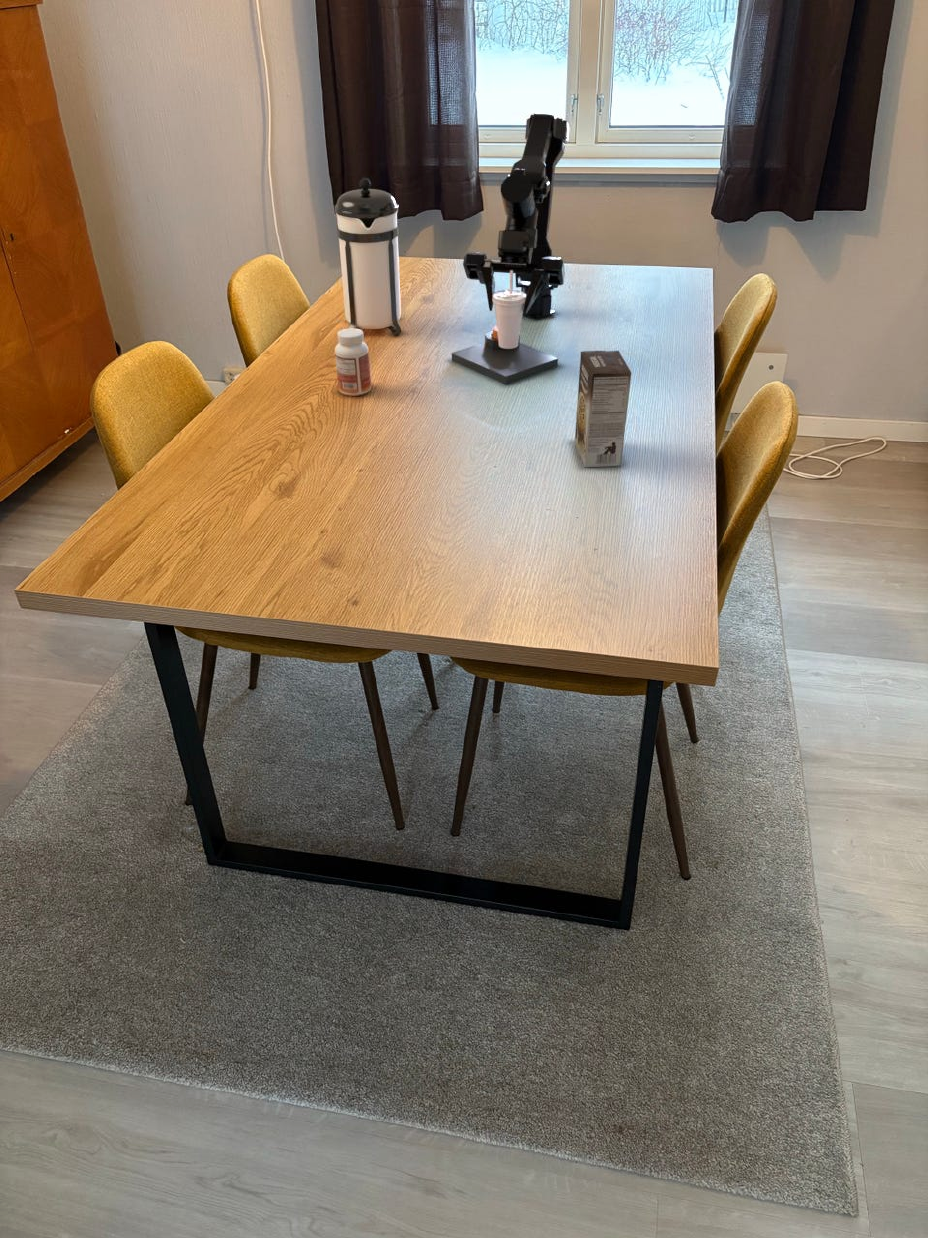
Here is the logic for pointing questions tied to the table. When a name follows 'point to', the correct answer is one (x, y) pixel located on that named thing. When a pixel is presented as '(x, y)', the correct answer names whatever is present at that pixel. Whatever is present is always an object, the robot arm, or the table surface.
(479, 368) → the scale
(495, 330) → the power button
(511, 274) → the smoothie
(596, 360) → the coffee box
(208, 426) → the table surface
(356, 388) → the pill bottle
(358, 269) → the coffee press
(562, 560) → the table surface
